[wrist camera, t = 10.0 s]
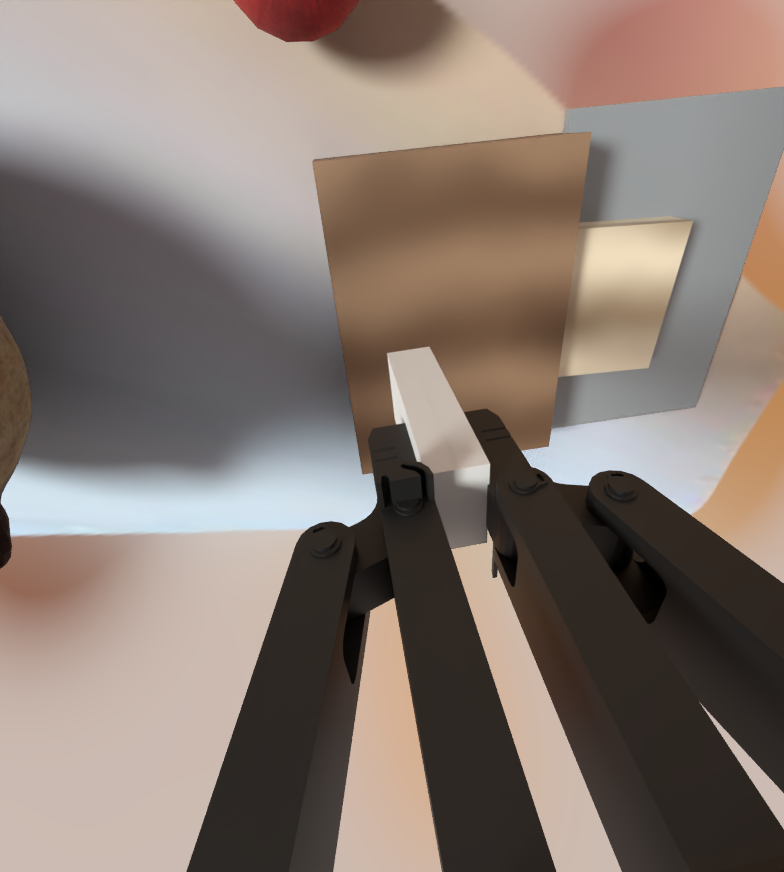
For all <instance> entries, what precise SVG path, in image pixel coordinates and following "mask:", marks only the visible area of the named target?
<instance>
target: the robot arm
mask: <svg viewBox="0 0 784 872" xmlns="http://www.w3.org/2000/svg"><path fill="white" fill-rule="evenodd" d="M387 356H388V365H389V374H390V382H391V391H392V400H393V408H394V417H395V421H396V425H390V426H384V427H378V428H373V429H372V431H371V433H370V435H369V438H368V445H369V451H370V457H371V463H372V469H373V475H374V481H375V487H376V493H377V504H376V507H375V509H374V510H373V512H372V513H371V514H370V515H369V516H368V517H367V518H366V519H364V520H362V521H361V522H359V523H357V524H355V525H353V526H350V527H347V526H346V525H344V524H342V523H339V522H332V521H330V522H323V523H319V524H317V525H314V526H312V527H310V528H309V529H308V530H306V531H305V532H304V533H303V534H302V535H301V536H300V538H299V540H298V542H297V543H296V546H295V549H294V552H293V555H292V558H291V561H290V564H289V567H288V570H287V573H286V576H285V579H284V582H283V585H282V588H281V591H280V594H279V597H278V600H277V603H276V606H275V609H274V612H273V615H272V618H271V621H270V624H269V627H268V630H267V633H266V636H265V639H264V642H263V645H262V648H261V651H260V654H259V657H258V660H257V663H256V666H255V669H254V671H253V674H252V677H251V681H250V684H249V687H248V689H247V692H246V696H245V698H244V701H243V704H242V707H241V711H240V713H239V716H238V719H237V722H236V725H235V728H234V731H233V734H232V738H231V740H230V743H229V746H228V749H227V752H226V755H225V758H224V761H223V764H222V767H221V770H220V773H219V776H218V779H217V782H216V785H215V788H214V791H213V794H212V797H211V800H210V803H209V806H208V809H207V812H206V815H205V818H204V821H203V824H202V827H201V830H200V833H199V836H198V839H197V842H196V845H195V848H194V851H193V854H192V857H191V860H190V863H189V866H188V869H187V872H333V868H334V860H335V854H336V847H337V840H338V834H339V827H340V819H341V813H342V805H343V798H344V791H345V784H346V778H347V770H348V763H349V756H350V750H351V743H352V736H353V729H354V721H355V715H356V707H357V701H358V694H359V687H360V679H361V673H362V666H363V659H364V652H365V644H366V638H367V631H368V624H369V617H370V610H372V609H374V608H376V607H378V606H379V605H382V604H383V603H385V602H387V601H389V600H390V599H393V598H395V604H396V610H397V616H398V621H399V627H400V632H401V638H402V644H403V650H404V656H405V661H406V667H407V673H408V679H409V684H410V689H411V696H412V702H413V707H414V713H415V718H416V725H417V730H418V735H419V742H420V747H421V753H422V759H423V764H424V771H425V776H426V782H427V787H428V793H429V799H430V805H431V811H432V817H433V822H434V828H435V834H436V839H437V845H438V850H439V856H440V862H441V868H442V872H556V869H555V866H554V863H553V860H552V857H551V854H550V851H549V848H548V845H547V842H546V839H545V836H544V833H543V829H542V826H541V823H540V820H539V817H538V814H537V811H536V808H535V805H534V802H533V799H532V796H531V793H530V790H529V787H528V783H527V780H526V777H525V774H524V771H523V768H522V765H521V762H520V759H519V756H518V753H517V750H516V747H515V744H514V741H513V738H512V734H511V731H510V729H509V726H508V722H507V719H506V716H505V713H504V710H503V707H502V704H501V701H500V698H499V695H498V692H497V689H496V686H495V682H494V679H493V677H492V674H491V670H490V667H489V664H488V661H487V658H486V655H485V652H484V649H483V646H482V643H481V640H480V637H479V633H478V631H477V627H476V624H475V622H474V618H473V615H472V612H471V609H470V606H469V603H468V600H467V597H466V594H465V591H464V588H463V585H462V581H461V578H460V575H459V572H458V569H457V566H456V563H455V560H454V557H453V554H452V551H451V549H454V548H459V547H465V546H470V545H476V544H481V543H487V529H488V531H489V534H490V536H491V538H492V540H493V557H492V575H493V578H495V577H497V570H499V573H500V575H501V578H502V580H503V582H504V585H505V588H506V590H507V592H508V595H509V597H510V599H511V602H512V605H513V607H514V609H515V612H516V614H517V617H518V619H519V622H520V624H521V627H522V629H523V631H524V634H525V636H526V639H527V641H528V643H529V646H530V648H531V651H532V653H533V656H534V658H535V660H536V663H537V666H538V668H539V670H540V673H541V675H542V678H543V680H544V683H545V685H546V687H547V690H548V692H549V695H550V697H551V700H552V702H553V705H554V707H555V709H556V712H557V714H558V717H559V719H560V721H561V724H562V726H563V729H564V731H565V734H566V736H567V739H568V741H569V744H570V746H571V748H572V751H573V753H574V756H575V758H576V761H577V763H578V766H579V768H580V770H581V773H582V775H583V778H584V780H585V782H586V785H587V788H588V790H589V792H590V795H591V797H592V800H593V802H594V805H595V807H596V809H597V812H598V814H599V817H600V819H601V821H602V824H603V826H604V829H605V831H606V834H607V836H608V839H609V841H610V844H611V846H612V848H613V851H614V853H615V856H616V858H617V860H618V863H619V866H620V868H621V870H622V872H784V829H783V828H782V826H781V825H780V823H779V822H778V820H777V819H776V817H775V816H774V814H773V813H772V811H771V810H770V808H769V806H768V805H767V804H766V802H765V801H764V799H763V798H762V796H761V794H760V793H759V791H758V790H757V788H756V787H755V785H754V784H753V782H752V781H751V779H750V778H749V776H748V775H747V773H746V772H745V770H744V769H743V767H742V766H741V764H740V763H739V761H738V760H737V758H736V757H735V755H734V754H733V752H732V751H731V749H730V748H729V747H728V745H727V743H726V742H725V740H724V739H723V737H722V736H721V734H720V733H719V731H718V730H717V728H716V727H715V725H714V724H713V722H712V721H711V719H710V718H709V716H708V715H707V713H706V711H705V710H704V709H703V707H702V705H703V706H704V707H705V708H706V710H707V711H708V712H709V713H710V714H711V715H712V716H713V717H714V718H715V719H716V720H717V721H718V723H720V725H721V726H722V727H723V728H724V729H725V730H726V731H727V732H728V733H729V734H730V735H731V737H732V738H733V739H734V740H735V741H736V742H737V743H738V744H739V745H740V746H741V747H742V748H743V749H744V751H745V752H746V753H747V754H748V755H749V756H750V757H751V758H752V759H753V760H754V761H755V763H756V764H757V765H758V766H759V767H760V768H761V769H762V770H763V771H764V772H765V773H766V774H767V776H769V778H770V779H771V780H772V781H773V782H774V783H775V784H776V785H777V786H778V787H779V788H780V790H782V792H783V793H784V583H782V582H781V581H779V580H778V579H776V578H775V577H774V576H773V575H771V574H770V573H768V572H767V571H766V570H765V569H763V568H762V567H760V566H759V565H758V564H756V563H755V562H754V561H752V560H751V559H750V558H748V557H747V556H745V555H744V554H743V553H741V552H740V551H739V550H737V549H736V548H734V547H733V546H732V545H731V544H729V543H728V542H726V541H725V540H724V539H722V538H721V537H720V536H718V535H717V534H716V533H714V532H713V531H712V530H710V529H709V528H707V527H706V526H705V525H703V524H702V523H701V522H699V521H698V520H697V519H695V518H694V517H692V516H691V515H690V514H688V513H687V512H686V511H684V510H683V509H682V508H680V507H679V506H678V505H676V504H675V503H673V502H672V501H671V500H669V499H668V498H667V497H665V496H664V495H663V494H661V493H660V492H658V491H657V490H656V489H654V488H653V487H652V486H650V485H649V484H648V483H646V482H645V481H644V480H642V479H640V478H638V477H636V476H635V475H633V474H629V473H626V472H622V471H610V470H609V471H604V472H599V473H598V474H596V475H595V476H593V477H592V479H591V481H590V483H589V486H582V485H566V484H559V483H555V482H553V481H552V479H551V478H550V477H549V476H548V475H547V474H546V473H544V472H542V471H540V470H538V469H536V468H532V467H531V466H530V464H529V463H528V461H527V460H526V458H525V457H524V455H523V453H522V452H521V450H520V449H519V447H518V445H517V444H516V442H515V441H514V439H513V438H511V434H510V433H509V431H508V430H507V429H506V427H505V425H504V423H503V422H502V420H501V419H500V417H499V416H498V415H496V414H495V413H493V412H492V411H490V410H488V409H487V408H486V409H480V410H474V411H468V412H463V410H462V409H461V407H460V405H459V403H458V401H457V399H456V397H455V395H454V393H453V391H452V389H451V387H450V385H449V383H448V382H447V380H446V378H445V376H444V374H443V372H442V370H441V368H440V366H439V364H438V362H437V360H436V358H435V356H434V354H433V353H432V351H431V349H430V347H423V348H417V349H410V350H404V351H398V352H391V353H387ZM700 703H701V704H702V705H701V704H700Z"/></svg>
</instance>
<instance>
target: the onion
mask: <svg viewBox="0 0 784 872" xmlns="http://www.w3.org/2000/svg"><path fill="white" fill-rule="evenodd" d="M233 1H234V2H235V3H236V4H237V5H238V6H239V7H240V9H241V10H242V11H243V12H244V13H245V14H246V15H247V17H248V18H249V19H250V20H251V21H252V22H253V23H254V25H255V26H256V27H257V28H258V29H261V30H263V31H265V32H267V33H269V34H271V35H273V36H275V37H277V38H279V39H282V40H284V41H286V42H299V41H314V40H317V39H319V38H321V37H323V36H325V35H327V34H329V33H331V32H333V31H335V30H337V29H338V28H339V27H340V26H341V24H342V23H343V22H344V20H345V19H346V18H347V16H348V15H349V14H350V12H351V11H352V10H353V8H354V7H355V6H356V4H357V3H358V1H359V0H233Z"/></svg>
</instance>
